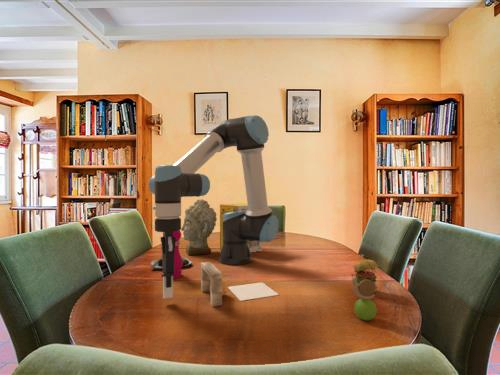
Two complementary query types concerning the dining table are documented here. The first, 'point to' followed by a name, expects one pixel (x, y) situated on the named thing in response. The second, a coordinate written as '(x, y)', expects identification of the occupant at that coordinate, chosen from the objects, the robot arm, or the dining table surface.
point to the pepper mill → (177, 256)
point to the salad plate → (158, 264)
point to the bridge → (211, 282)
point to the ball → (224, 287)
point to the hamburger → (364, 274)
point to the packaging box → (228, 208)
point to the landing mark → (252, 291)
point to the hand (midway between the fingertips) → (168, 296)
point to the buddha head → (198, 227)
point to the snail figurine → (364, 299)
